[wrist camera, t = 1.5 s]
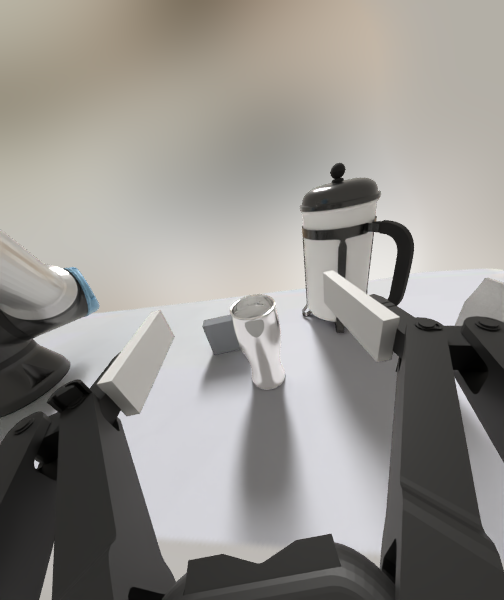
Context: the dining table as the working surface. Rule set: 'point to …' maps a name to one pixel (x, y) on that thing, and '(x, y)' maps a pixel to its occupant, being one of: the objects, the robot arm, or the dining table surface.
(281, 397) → the dining table surface
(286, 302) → the dining table surface
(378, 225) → the coffee press
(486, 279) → the printed carton
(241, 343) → the beer glass
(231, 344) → the block
